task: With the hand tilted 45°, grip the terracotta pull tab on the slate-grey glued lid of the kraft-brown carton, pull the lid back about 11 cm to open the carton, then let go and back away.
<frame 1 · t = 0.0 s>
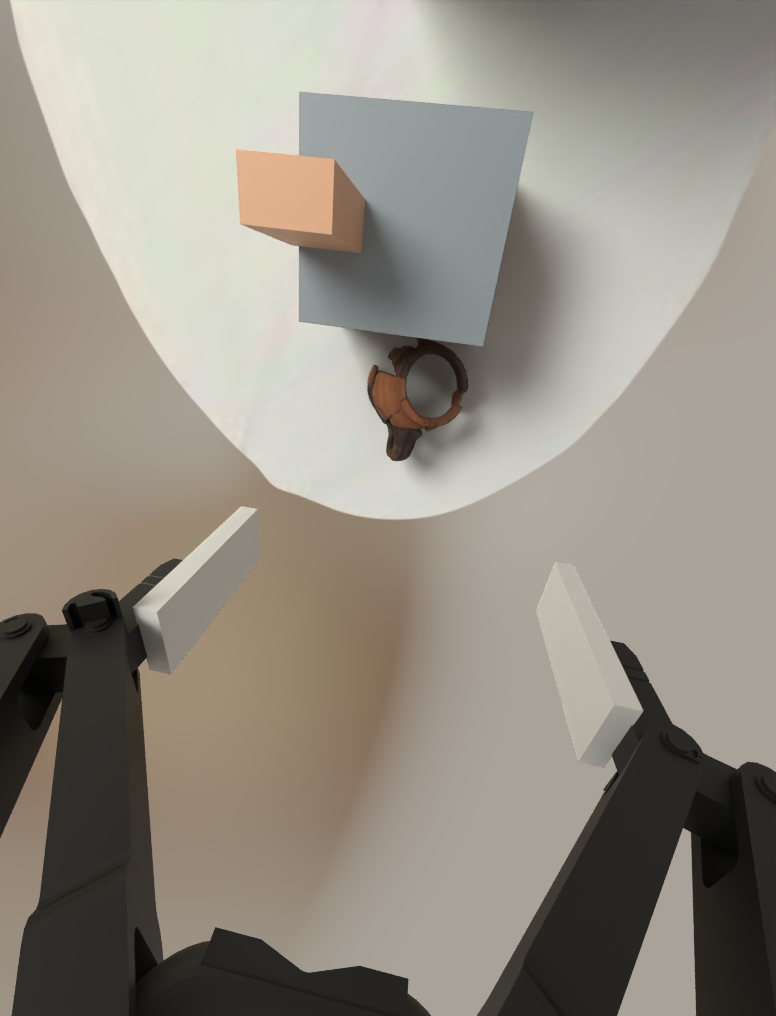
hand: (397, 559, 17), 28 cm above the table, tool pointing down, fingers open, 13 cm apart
lid: (389, 220, 23), point 14 cm above the table, slide at 0.0 cm
pottery mug: (412, 395, 41), on the table
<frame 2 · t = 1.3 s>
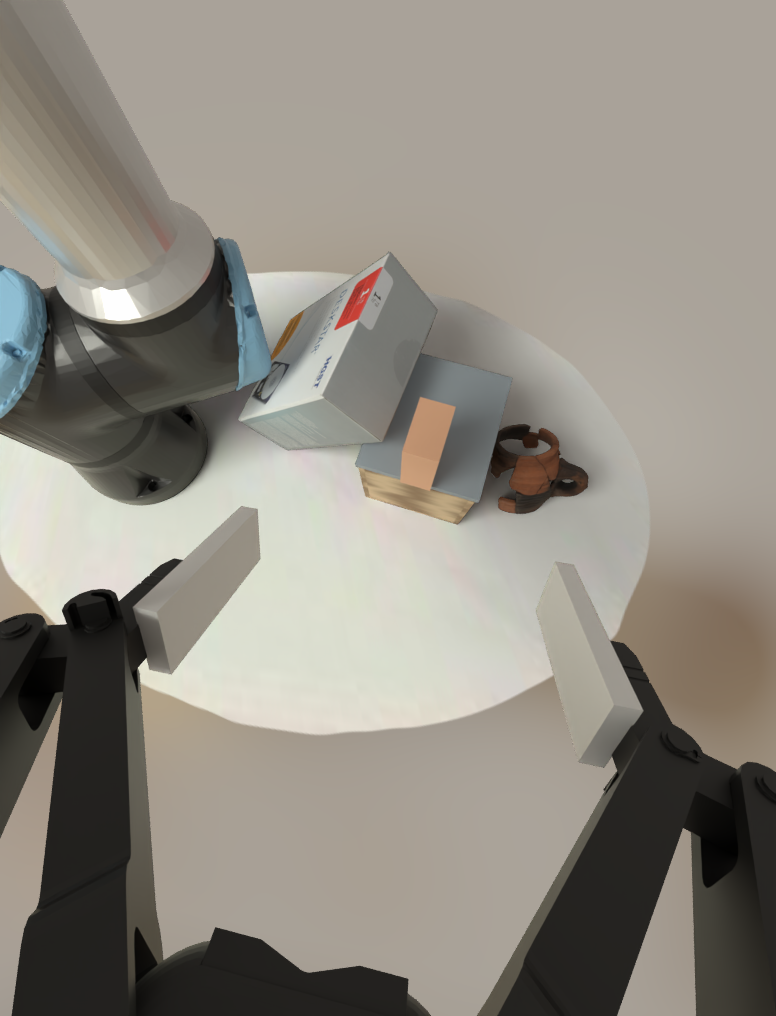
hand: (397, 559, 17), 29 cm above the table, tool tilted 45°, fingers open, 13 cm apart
carton: (426, 460, 49), on the table
lid: (439, 404, 35), point 14 cm above the table, slide at 0.0 cm, touching hard drive box
hard drive box: (287, 386, 49), point 2 cm above the table, touching lid
pottery mug: (523, 480, 49), on the table
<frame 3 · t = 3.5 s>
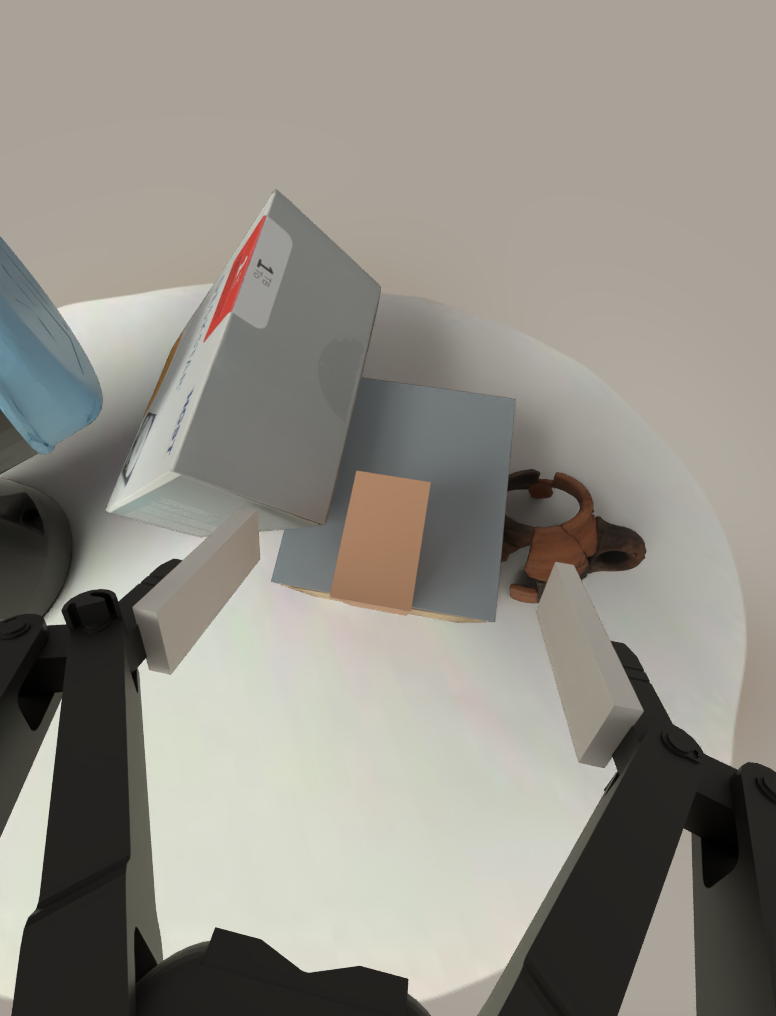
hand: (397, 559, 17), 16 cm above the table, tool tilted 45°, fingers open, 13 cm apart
carton: (399, 528, 33), on the table
lid: (401, 466, 20), point 14 cm above the table, slide at -0.1 cm
hard drive box: (185, 444, 33), point 3 cm above the table, touching gripper
pottery mug: (539, 547, 33), on the table
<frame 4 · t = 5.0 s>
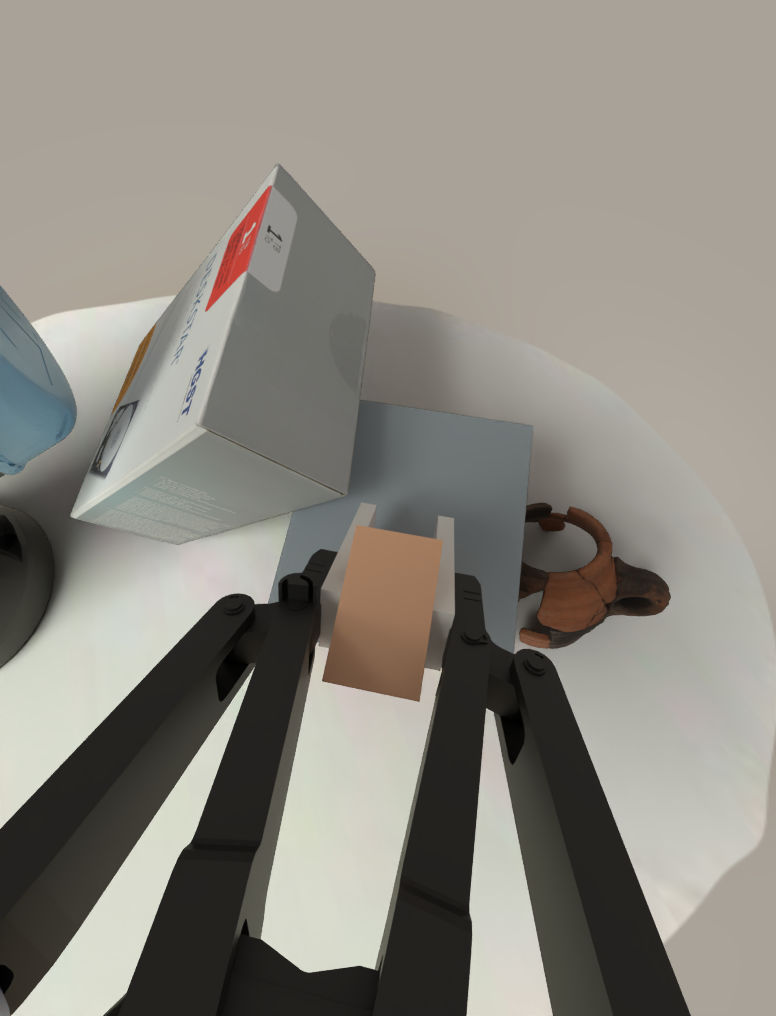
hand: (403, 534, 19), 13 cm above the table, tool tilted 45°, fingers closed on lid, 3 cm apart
lid: (407, 506, 18), point 14 cm above the table, slide at 0.0 cm, touching gripper, hard drive box
hard drive box: (157, 445, 31), point 3 cm above the table, touching lid
pottery mug: (550, 584, 31), on the table
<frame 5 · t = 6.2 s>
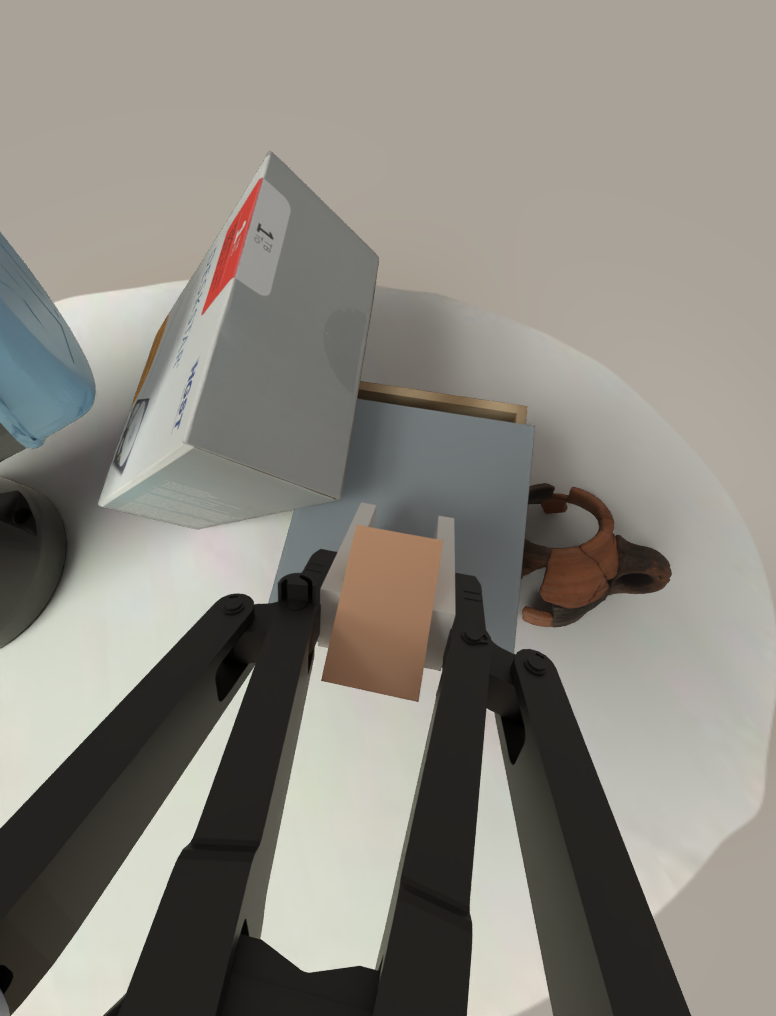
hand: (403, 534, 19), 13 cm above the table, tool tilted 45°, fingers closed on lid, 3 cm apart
carton: (408, 533, 32), on the table
lid: (408, 506, 18), point 14 cm above the table, slide at 1.9 cm, touching gripper, hard drive box
hard drive box: (176, 434, 32), point 3 cm above the table, touching lid
pottery mug: (553, 565, 31), on the table
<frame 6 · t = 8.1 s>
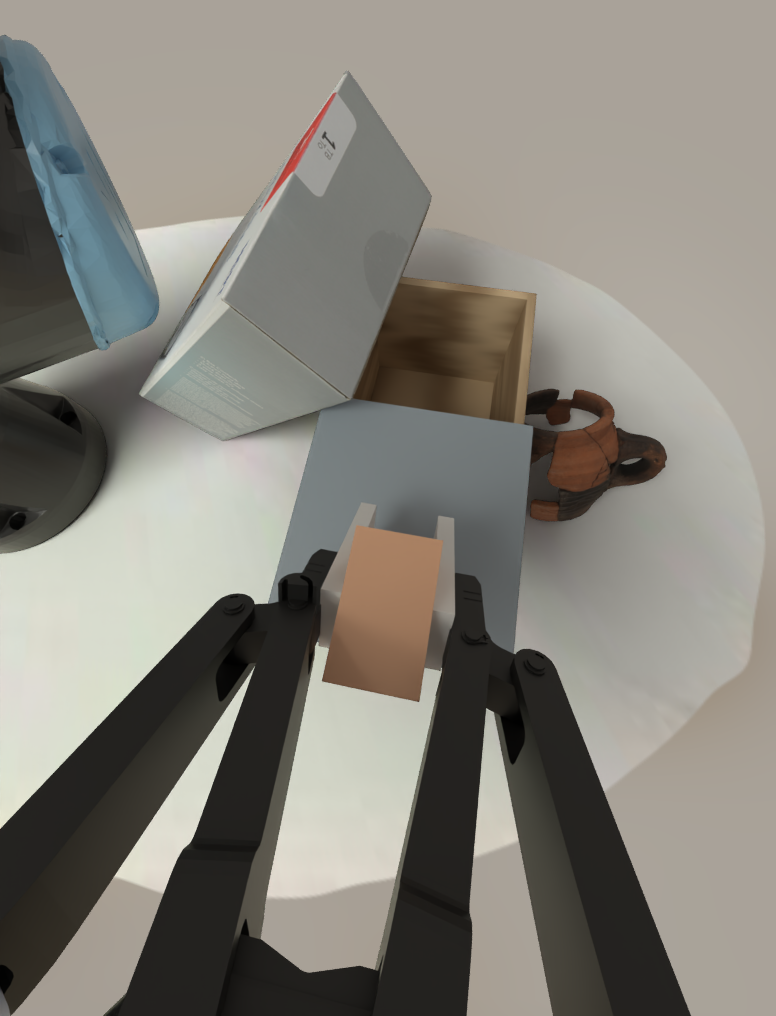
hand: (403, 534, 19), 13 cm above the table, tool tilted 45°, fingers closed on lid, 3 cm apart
carton: (424, 438, 34), on the table
lid: (407, 506, 18), point 14 cm above the table, slide at 10.9 cm, touching gripper
hard drive box: (219, 350, 35), point 3 cm above the table, touching carton
pottery mug: (558, 471, 33), on the table
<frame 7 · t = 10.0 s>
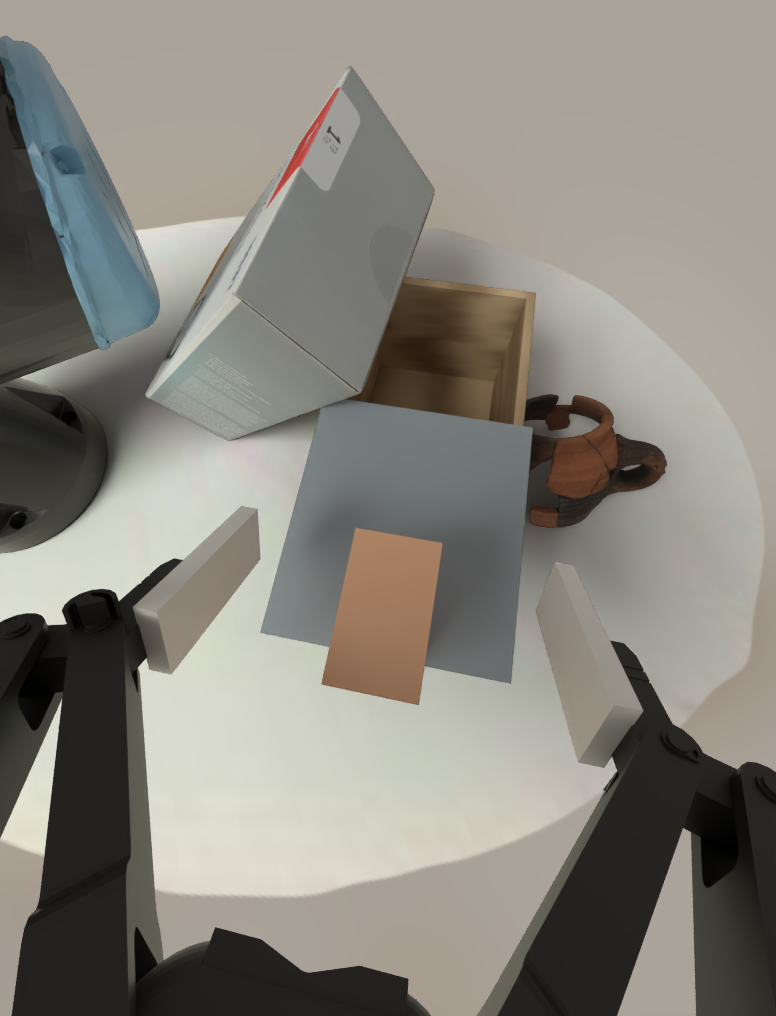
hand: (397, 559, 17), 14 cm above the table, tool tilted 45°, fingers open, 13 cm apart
carton: (424, 437, 34), on the table
lid: (407, 508, 18), point 14 cm above the table, slide at 11.1 cm
hard drive box: (223, 350, 35), point 3 cm above the table, touching carton
pottery mug: (557, 476, 33), on the table
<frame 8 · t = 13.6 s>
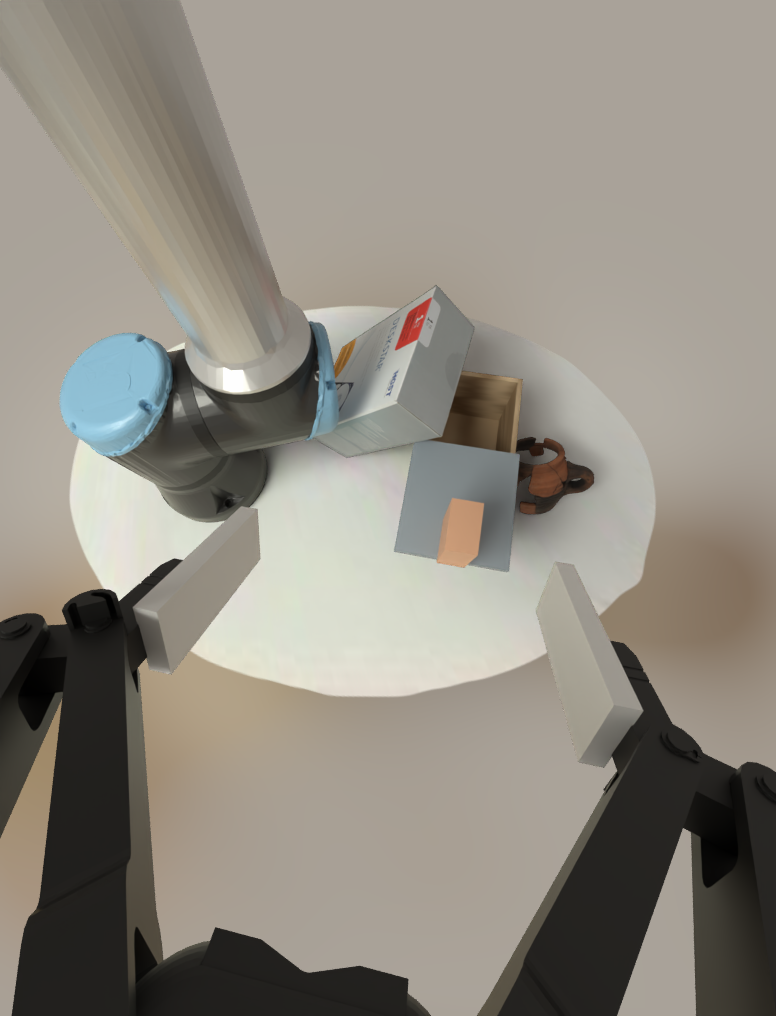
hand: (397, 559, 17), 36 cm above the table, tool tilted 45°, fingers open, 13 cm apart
carton: (457, 454, 57), on the table
lid: (463, 493, 40), point 14 cm above the table, slide at 11.2 cm, touching hard drive box
hard drive box: (343, 403, 58), point 2 cm above the table, touching lid
pottery mug: (536, 484, 56), on the table
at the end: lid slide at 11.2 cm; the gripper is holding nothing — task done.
